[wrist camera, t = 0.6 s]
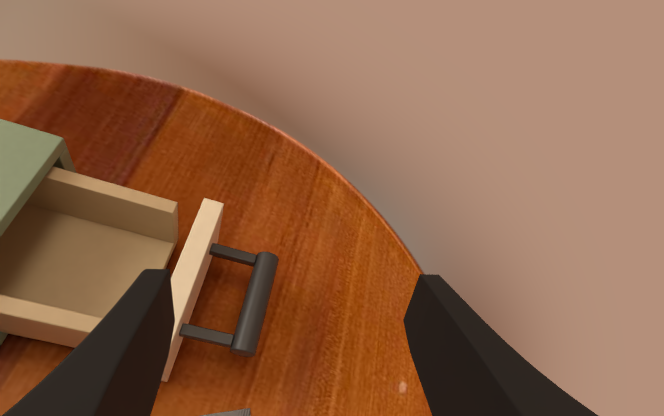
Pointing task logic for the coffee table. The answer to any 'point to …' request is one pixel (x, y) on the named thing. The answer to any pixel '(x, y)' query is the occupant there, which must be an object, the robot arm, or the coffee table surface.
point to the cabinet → (25, 167)
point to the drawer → (114, 263)
